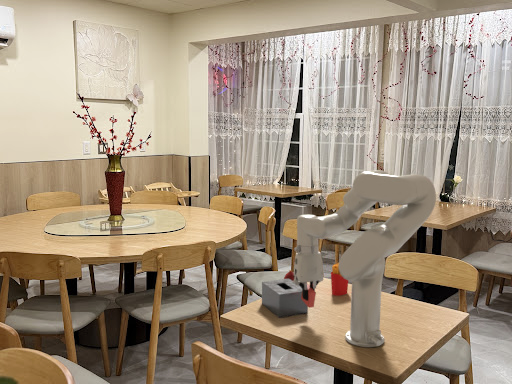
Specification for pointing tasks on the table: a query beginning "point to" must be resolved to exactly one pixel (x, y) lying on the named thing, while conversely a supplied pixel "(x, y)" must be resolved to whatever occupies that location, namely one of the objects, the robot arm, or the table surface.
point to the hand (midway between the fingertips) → (308, 298)
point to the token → (310, 297)
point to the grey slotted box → (283, 298)
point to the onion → (289, 275)
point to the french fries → (338, 282)
